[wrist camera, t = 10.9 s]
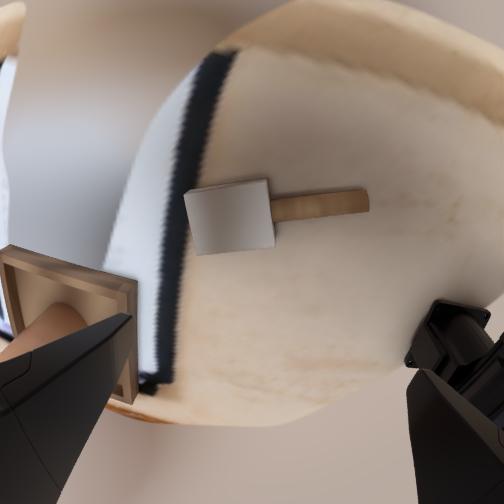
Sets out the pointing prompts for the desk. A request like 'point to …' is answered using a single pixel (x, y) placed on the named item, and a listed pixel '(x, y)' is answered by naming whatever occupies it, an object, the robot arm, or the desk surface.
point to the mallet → (256, 214)
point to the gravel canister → (45, 330)
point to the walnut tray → (68, 299)
